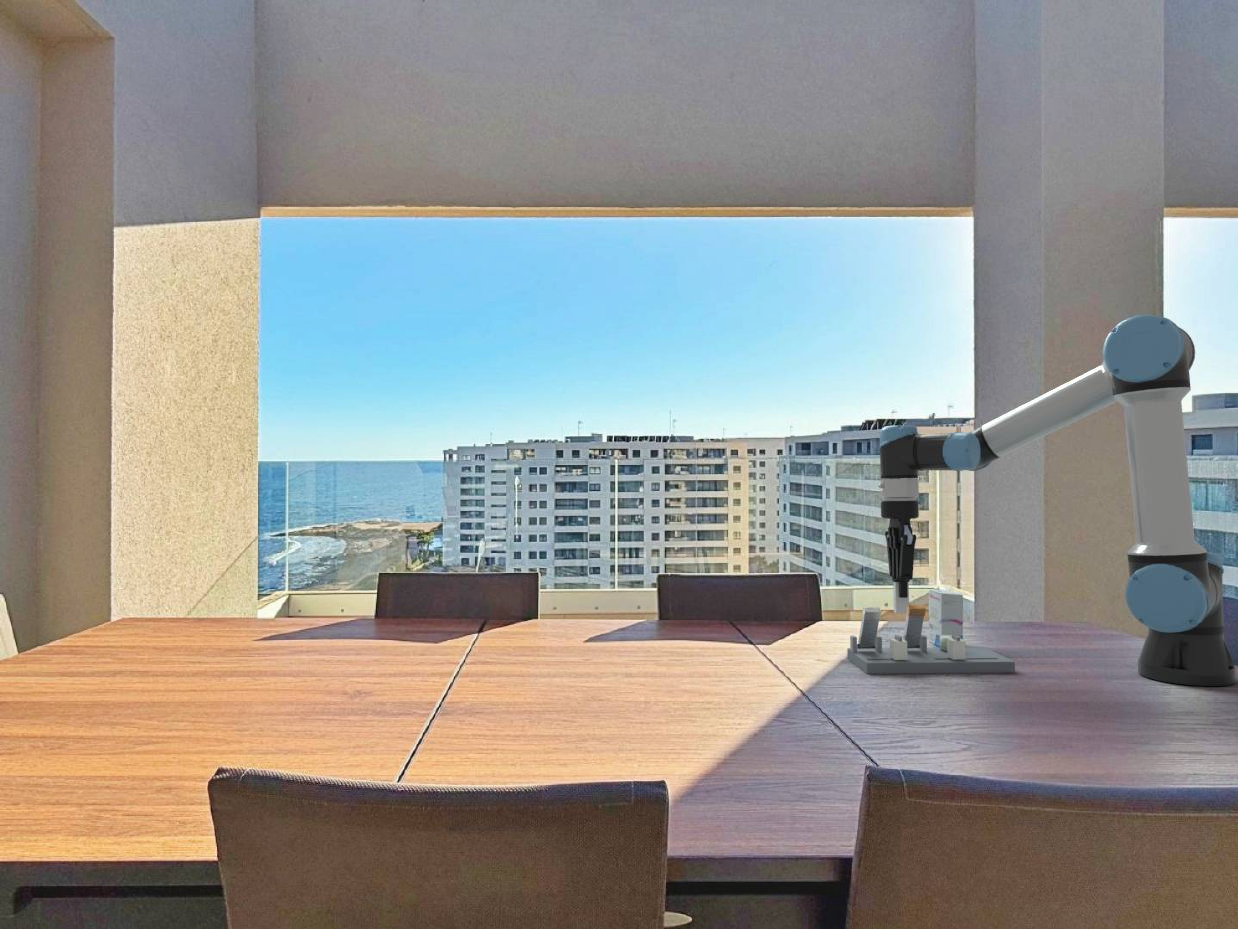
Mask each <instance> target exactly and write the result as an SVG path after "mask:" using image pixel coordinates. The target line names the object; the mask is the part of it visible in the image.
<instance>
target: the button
mask: <svg viewBox="0 0 1238 929" xmlns="http://www.w3.org/2000/svg"><path fill="white" fill-rule="evenodd" d="M958 637H959V636H958ZM947 638H952V635H942V636H940V647H939V648H940V649H941V650H944V651H947ZM960 639H961V637H960Z"/></svg>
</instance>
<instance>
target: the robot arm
mask: <svg viewBox="0 0 1238 929" xmlns="http://www.w3.org/2000/svg"><path fill="white" fill-rule="evenodd" d="M1195 348H1196V347H1195V344H1194V341H1193V339H1192V337H1191V336H1190V334H1188V332H1187V331H1186V330H1184V329H1183V328H1181V327H1180V326H1178V325H1177V324H1176V323H1175V322H1174V321H1173V320H1171V319H1169V318H1167V317H1164V316H1161V315H1155V314H1139V315H1134V316H1132V317H1127V318H1126V319H1124V320H1122V321H1120V322H1119V323H1118V324H1116V325H1115V327H1113V328H1112V329H1111V330H1110V332H1109V333H1108V335H1107V336H1106V338H1105V340H1104V343H1103V347H1102V357H1103V358H1102V359H1103V362H1102V363H1101V365H1099V366H1097V367H1095V368H1093V369H1091V370H1089V371H1087V372H1084V373H1083V374H1082V375H1080V376H1077V377H1075V378H1073V379H1071V380H1070V381H1067V382H1065V383H1064V384H1062V385H1060V386H1058V387H1056V388H1054V389H1052V390H1049V391H1047V392H1046V393H1044V394H1042V395H1040V396H1038V397H1036V398H1034V399H1032V400H1030V401H1028V402H1027V403H1024V404H1022V405H1020V406H1018V407H1016V408H1014V409H1012V410H1010V411H1009V412H1007V413H1004V414H1003V415H1002V414H1001V415H1000V416H998V417H997V418H995V419H992V420H991V421H989V422H986V423H985V424H983V425H981V426H980V427H978V428H976V429H975V428H974V429H973V430H972V431H970V432H963V431H962V432H961V431H955V432H944V433H943V432H942V433H929V434H924V433H919V432H918V428H917V427H916V425H911V424H909V425H908V424H906V425H905V424H904V425H903V424H902V425H901V424H900V425H899V424H898V425H886V426H883V427H882V428H881V429H880V432H879V433H880V434H879V436H880V437H879V446H878V449H879V461H880V463H879V464H880V466H879V467H880V468H879V469H880V483H879V484H878V485H877V486H878V489H880V498H882V499H883V500H881V502H880V516H881V518H882V519H884V520H885V519H888V520H889V524H888V525H889V526H887V527H888V528H887V530H885V532H884V536H885V542H886V548H887V549H886V550H887V551H886V552H887V559H888V560H887V561H888V562H887V563H888V571H889V577H891V579H892V583H893V587H892V588H893V613H895V614H907V613H906V611H907V605H910V595H909V594H910V588H909V587H910V586H909V585H910V584H909V582H910V581H912V580H913V578H914V563H915V550H916V549H915V547H916V540H917V535H916V534H913V527H912V526H911V525H912V524H911V519H912V520H915V519H918V518H919V517H920V510H919V509H920V508H919V506H920V504H919V502H918V500H917V498H919V496H920V495H919V494H920V490H919V488H920V486H919V471H923V472H924V471H955V472H959V471H960V472H964V471H970V472H977V471H980V470H983V469H985V468H987V467H989V466H990V465H991V464H992V462H994V461H995V460H998V459H999V458H1002V457H1004V456H1006V455H1008V454H1009V453H1012V452H1014V451H1016V450H1019V449H1020V448H1023V447H1025V446H1027V445H1029V444H1031V443H1033V442H1035V441H1037V440H1040V439H1042V438H1043V437H1046V436H1047V435H1049V434H1052V433H1054V432H1056V431H1058V430H1060V429H1063V428H1064V427H1067V426H1069V425H1071V424H1073V423H1075V422H1077V421H1080V420H1081V419H1083V418H1086V417H1088V416H1090V415H1092V414H1094V413H1096V412H1099V411H1100V410H1102V409H1105V408H1106V407H1109V406H1111V405H1113V404H1115V403H1117V402H1118V403H1119V404H1120V405H1121V406H1122V407H1123V413H1124V414H1123V415H1124V423H1125V434H1126V435H1125V436H1126V446H1127V456H1128V464H1129V477H1130V478H1129V479H1130V488H1131V490H1130V491H1131V497H1132V498H1131V499H1132V510H1133V519H1134V530H1135V531H1134V533H1135V541H1136V542H1135V543H1134V545H1132V546H1131V547H1130V549H1128V550H1127V553H1126V554H1127V563H1128V565H1127V566H1128V574H1129V578H1128V579H1127V582H1126V586H1125V591H1124V597H1125V598H1124V599H1125V603H1126V606H1127V608H1128V610H1129V612H1130V614H1131V615H1132V616H1133V617H1134V618H1135V619H1136V620H1137V621H1138V622H1139V623H1141V624H1142V625H1143V626H1145V627H1147V633H1146V638H1145V639H1144V643H1143V645H1142V648H1141V651H1140V654H1139V657H1138V659H1137V673H1138V674H1139V675H1141V676H1143V677H1145V678H1148V679H1152V680H1154V681H1160V682H1165V683H1171V684H1179V685H1186V686H1187V685H1188V686H1199V687H1221V686H1222V687H1223V686H1224V687H1225V686H1232V685H1234V684H1236V683H1237V670H1236V669H1237V668H1236V667H1235V664H1234V663H1235V662H1234V661H1233V658H1232V656H1231V652H1230V651H1229V648H1228V646H1227V643H1226V640H1225V636H1224V590H1223V589H1224V588H1223V582H1224V581H1223V575H1224V573H1225V571H1224V570H1225V569H1224V567H1223V561H1222V560H1223V559H1222V558H1221V556H1220V555H1219V554H1218V553H1215V552H1209V551H1207V549H1206V548H1205V547H1203V546H1202V545H1200V543H1198V542H1197V541H1196V539H1195V538H1196V537H1195V528H1194V520H1193V517H1194V516H1193V509H1192V508H1193V507H1192V499H1191V489H1190V488H1191V487H1190V477H1189V467H1188V458H1187V447H1186V445H1187V444H1186V436H1185V425H1184V414H1183V405H1182V401H1183V399H1184V398H1185V397H1186V396H1187V394H1188V393H1189V392H1190V391H1191V390H1192V388H1191V378H1190V377H1191V376H1190V371H1191V368H1192V366H1193V364H1194V362H1195V358H1196V349H1195Z"/></svg>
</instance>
